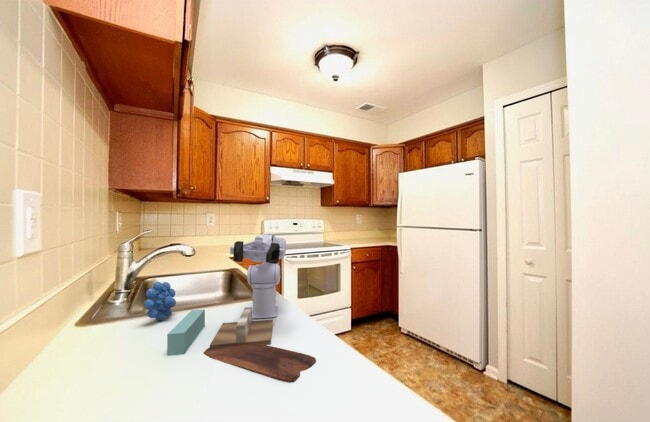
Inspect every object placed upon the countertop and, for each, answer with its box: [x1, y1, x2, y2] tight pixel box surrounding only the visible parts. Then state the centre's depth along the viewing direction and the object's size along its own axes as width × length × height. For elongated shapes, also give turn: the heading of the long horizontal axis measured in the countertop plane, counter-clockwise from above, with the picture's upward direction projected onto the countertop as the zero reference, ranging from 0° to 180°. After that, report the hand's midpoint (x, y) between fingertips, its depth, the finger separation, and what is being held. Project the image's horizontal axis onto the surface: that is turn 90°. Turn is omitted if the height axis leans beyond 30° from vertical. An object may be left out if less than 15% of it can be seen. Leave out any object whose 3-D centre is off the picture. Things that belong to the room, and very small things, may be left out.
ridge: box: [209, 306, 274, 349], centre depth 71 cm, size 14×14×5 cm
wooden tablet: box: [202, 343, 317, 383], centre depth 60 cm, size 26×2×10 cm
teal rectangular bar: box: [166, 309, 206, 356], centre depth 69 cm, size 16×4×5 cm, turn 9°
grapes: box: [143, 281, 177, 322], centre depth 82 cm, size 12×7×12 cm, turn 170°
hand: (251, 257), depth 67 cm, fingers open, 7 cm apart
